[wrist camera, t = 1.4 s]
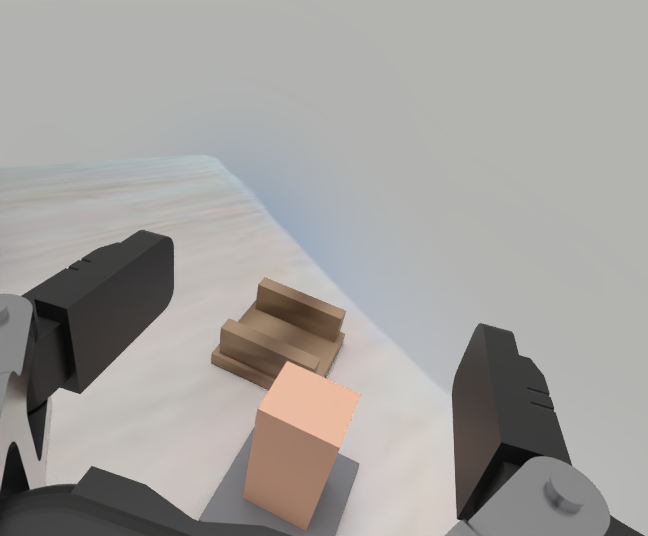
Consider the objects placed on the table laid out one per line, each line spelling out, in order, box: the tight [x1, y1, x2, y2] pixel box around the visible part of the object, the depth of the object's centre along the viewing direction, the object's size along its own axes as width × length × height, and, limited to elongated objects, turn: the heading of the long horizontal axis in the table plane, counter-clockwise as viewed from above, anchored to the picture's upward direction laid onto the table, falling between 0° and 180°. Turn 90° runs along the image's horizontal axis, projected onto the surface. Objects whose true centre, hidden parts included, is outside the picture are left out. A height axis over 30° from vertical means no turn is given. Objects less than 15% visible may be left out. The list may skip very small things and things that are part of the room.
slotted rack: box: [211, 278, 346, 390], centre depth 37 cm, size 9×8×4 cm
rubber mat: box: [199, 428, 359, 536], centre depth 29 cm, size 8×8×1 cm
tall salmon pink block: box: [243, 361, 361, 531], centre depth 26 cm, size 4×4×10 cm
